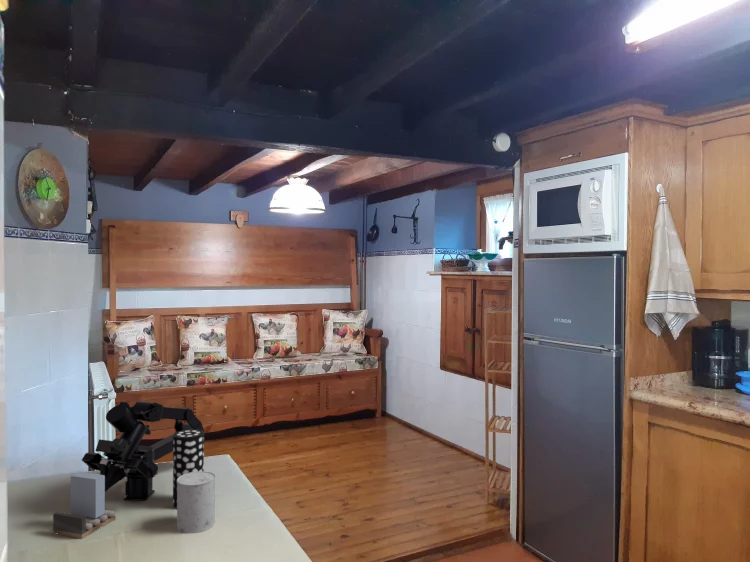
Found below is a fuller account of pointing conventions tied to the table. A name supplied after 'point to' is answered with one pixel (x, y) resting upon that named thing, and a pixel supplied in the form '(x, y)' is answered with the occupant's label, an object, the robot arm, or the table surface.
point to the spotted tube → (187, 455)
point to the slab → (88, 494)
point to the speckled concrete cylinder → (195, 502)
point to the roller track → (79, 523)
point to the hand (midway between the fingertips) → (98, 494)
